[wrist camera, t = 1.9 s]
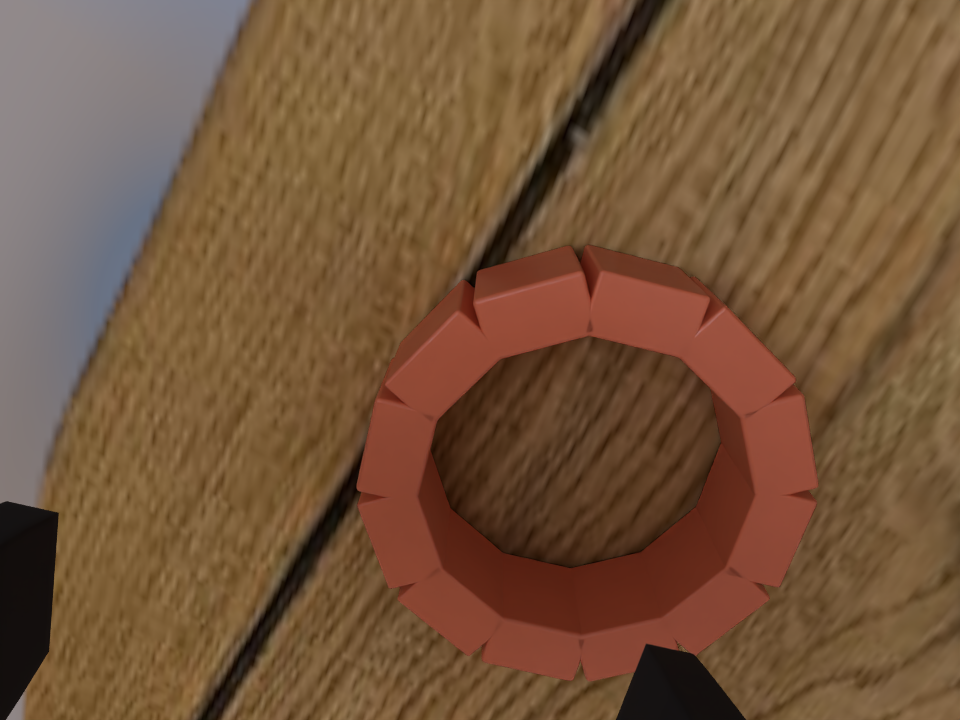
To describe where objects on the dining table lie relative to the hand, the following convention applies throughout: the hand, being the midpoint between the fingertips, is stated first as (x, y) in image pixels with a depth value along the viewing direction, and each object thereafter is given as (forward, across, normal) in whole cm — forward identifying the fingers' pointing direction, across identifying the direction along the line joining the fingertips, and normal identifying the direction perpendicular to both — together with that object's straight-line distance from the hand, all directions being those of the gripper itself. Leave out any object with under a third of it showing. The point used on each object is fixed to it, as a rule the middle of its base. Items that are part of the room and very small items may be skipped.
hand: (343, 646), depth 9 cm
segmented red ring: (+8, -4, 0) cm, 8 cm away
